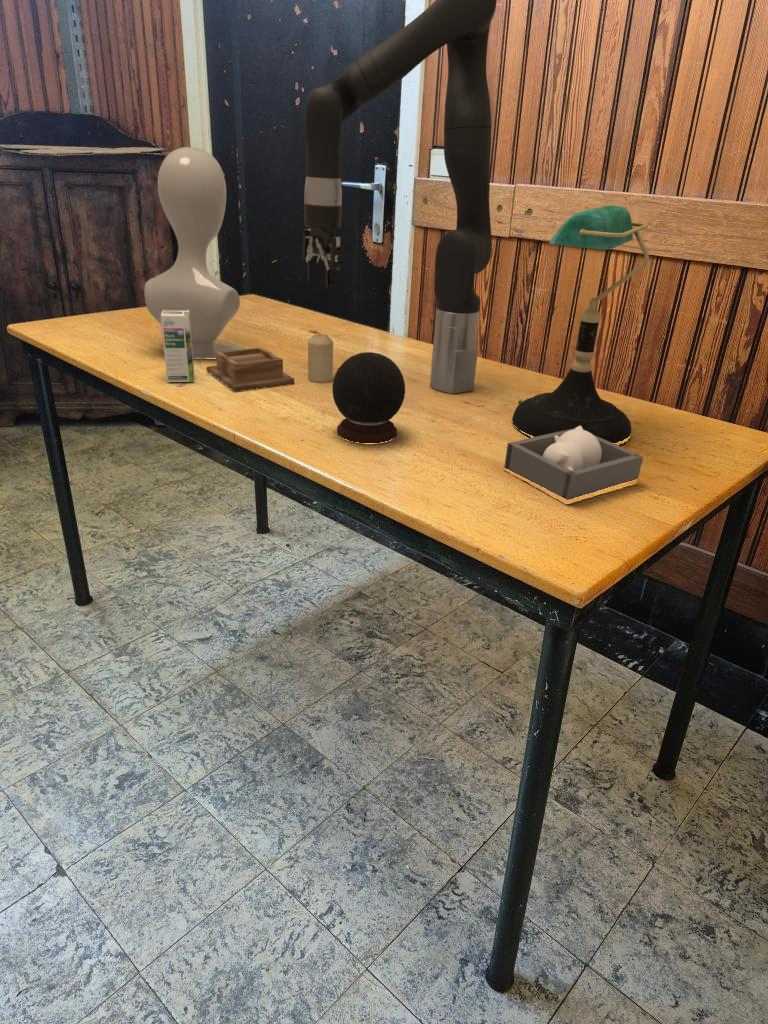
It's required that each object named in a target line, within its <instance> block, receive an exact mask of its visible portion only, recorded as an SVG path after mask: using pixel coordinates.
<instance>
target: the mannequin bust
mask: <svg viewBox="0 0 768 1024" xmlns="http://www.w3.org/2000/svg"><path fill="white" fill-rule="evenodd" d="M157 176H158V177H157V192H158V198H159V200H160V204H161V207H162V210H163V211H164V214H165V216H166V218H167V220H168V222H169V224H170V226H171V228H172V230H173V231H174V235H175V237H176V240H177V244H178V246H177V247H178V249H177V250H178V251H177V256H176V260H175V262H174V263H173V265H172V266H171V267H170V268H169V269H167V270H166V271H163V272H162V273H159V274H158V275H155V276H154V277H152V278H150V279H148V280H147V281H146V282H145V284H144V293H143V294H144V301H145V307H146V309H147V311H148V312H149V314H150V315H151V316H152V317H153V318H154V320H156V322H158V324H160V325H161V313H162V311H163V310H166V311H186V310H189V312H190V325H191V338H192V350H193V358H203V359H204V358H205V359H206V358H216V352H222V351H232V350H241V349H243V347H241V346H239V345H235V344H229V343H214V342H215V341H216V340H217V339H218V338H219V337H220V336H221V334H222V332H223V331H224V330H225V329H226V327H227V325H228V324H229V323H230V322H231V321H232V320H233V318H234V317H235V315H236V314H237V313H238V311H239V309H240V304H241V301H240V300H241V297H240V295H239V293H238V291H237V290H236V289H235V288H233V287H232V286H230V285H229V284H226V283H224V282H223V281H221V280H219V279H217V278H215V277H214V276H212V275H211V274H210V272H209V269H208V267H207V253H208V247H209V246H210V244H211V243H212V241H213V240H214V239H215V238H216V237H217V236H218V234H219V231H220V230H221V228H222V225H223V221H224V217H225V212H226V205H227V183H226V178H225V175H224V172H223V169H222V167H221V165H220V164H219V162H218V160H217V159H216V158H215V156H213V155H212V154H211V153H209V152H208V151H206V150H203V149H202V148H198V147H191V146H184V147H183V146H182V147H179V148H176V149H174V150H172V151H171V152H170V153H168V154H167V155H166V157H164V159H163V160H162V163H161V164H160V167H159V170H158V175H157ZM161 349H162V350H161V351H162V353H164V345H162V347H161ZM203 359H202V360H203Z"/></svg>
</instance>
